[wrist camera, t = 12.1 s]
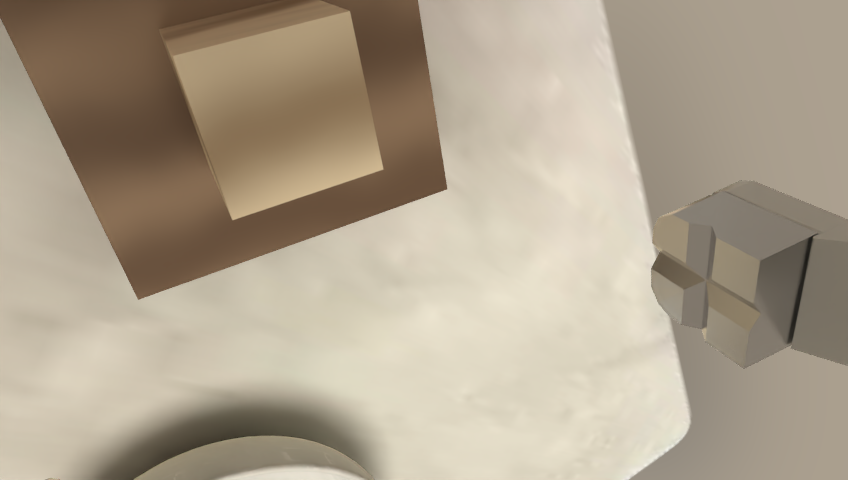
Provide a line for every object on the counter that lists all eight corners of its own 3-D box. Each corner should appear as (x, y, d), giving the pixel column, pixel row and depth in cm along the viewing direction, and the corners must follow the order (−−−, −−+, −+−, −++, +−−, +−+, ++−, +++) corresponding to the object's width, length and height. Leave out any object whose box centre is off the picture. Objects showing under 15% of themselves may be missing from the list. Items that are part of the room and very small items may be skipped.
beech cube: (158, 29, 25) (172, 56, 20) (304, -6, 26) (349, 10, 22) (209, 167, 28) (232, 220, 23) (337, 128, 29) (383, 169, 25)
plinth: (-31, -88, 24) (-52, -89, 21) (358, -155, 28) (391, -165, 25) (134, 261, 32) (138, 299, 29) (416, 165, 37) (447, 189, 33)
